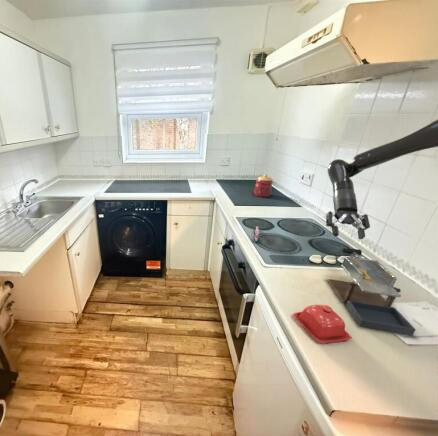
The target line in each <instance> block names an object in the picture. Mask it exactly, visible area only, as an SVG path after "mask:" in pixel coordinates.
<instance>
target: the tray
mask: <svg viewBox="0 0 438 436" xmlns="http://www.w3.org/2000/svg"><path fill="white" fill-rule="evenodd" d="M345 307H346V309H347V310H348V311H349V313H350V314H351V316H352V318H353V319H354V321H355V322H356V324H357V325H358V326H359V327H361V328H367V329H371V330H378V331H383V332H387V333H388V332H389V333H393V334H399V335H405V336H410V337H412V336H413V335H414V334H415V331H416V328H415V327H414V326H413V325H412V324H411V323H410V322H409V321H408V320H407V319H406V318H405V316H404V315H403V314H402V313H401V312H399V311H400V310H398V308H396V307H394V306H391V307H387V306H381V305H375V304H369V303H363V302H356V301H350V300H348V301H347V304H346V303H345Z"/></svg>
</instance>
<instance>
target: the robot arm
mask: <svg viewBox="0 0 438 436" xmlns="http://www.w3.org/2000/svg"><path fill="white" fill-rule="evenodd" d="M434 148H438V118H437V119H435V120H433V121H432V122H430V123H429V124H427V125H425V126H423V127H422V128H420V129H417V130H416V131H414V132H412V133H410V134H407V135H405V136H403V137H401V138H398V139H395V140H393V141H390V142H388V143H387V142H386V143H385V144H381V145H378V146H376V147H373V148H370V149H368V150H366V151H365V150H364V151H363V152H360V153H358V154H356V155H354V157H353V159H352V162H351V163H350V162H348V161H345V160H343V159H339V158H337V159H334V160H332V161H331V162H330V163H329V165H328V166H327V176H328V177H329V180H330V183H331V185H332V193H333V195H332V196H333V197H332V201H333V202H332V203H333V212H332V211H328V212H327V213H326V214H325V226H327V227H330V228H331V232H332V235H333V236H334V237H338V236H339V235H340V233H339V225H340V224H341V225H348V226H349V225H351V226H352V227H353V228H355V229H357V237H358V238H357V239H358V240H363V239H364V238H366V233H365V231H367V230H368V229H370V228H371V224H370V220H369V216H368V214H366V213H365V214H359V213H358V210H359V209H358V203H357V195H356V193H355V187H354V182H353V180H352V179H351V178H353V177H354V176H356V175H358V174H360V173H362V172H363V171H365V170H367V169H371V168H373V167H376V166H380V165H382V164H385V163H388V162H391V161H393V160H395V159H398V158H400V157H404V156H406V155H410V154H413V153H416V152H420V151H423V150H428V149H434ZM333 218H335V219H336V220H335V221H334V222H333Z"/></svg>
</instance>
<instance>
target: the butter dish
mask: <svg viewBox="0 0 438 436" xmlns="http://www.w3.org/2000/svg"><path fill="white" fill-rule="evenodd" d="M292 316H293V317H294V319H295V320H296V321H297V322H298V323H299V324H300V325H301V326H302V327H303V328H304V329H305V330H306V332H307V333H309V335H310V336H311V337H312V338H313V339H314V340H315V341H316V342H317V343H322V344H324V343H326V344H327V343H333V342H334V343H335V342H344V341H349V340H351V339H353V338H352V336H351V334H350V333H349V332H347V331H346V323H345V320H344V319H343V318H342V317H341V316H340V315H339V314H338V313H337V312H335V311H334V310H333V308H332V307H331V306H329V305H327V304H312V305H308V306H306V307H304V308H303V309H302V311H297V312H294V313H292Z"/></svg>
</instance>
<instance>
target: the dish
mask: <svg viewBox="0 0 438 436" xmlns="http://www.w3.org/2000/svg"><path fill="white" fill-rule="evenodd" d="M342 253H343V254H345V255H352V256H353V257H352V256H344V258H343V261H342V263H341V268H342V270H343V271H344V272H345V273H346V274H347V276H348V277H349V278H350V279H351V281H354V282H355V283H356V285H357V286H358V287H359V288H360V289H361V291H362V292H368V293H374V294H379V295H380V296H381V295H382V296H386V297H388V296H394V297H396V298H401V297H402V294H400V292H397V291H396V290H395V289H394V288H393V287H395V286H394V285H395V283H396V282H397V280H398V277H396V275H394V274H393V273H392V272H391V271H390V270H389V269H388V268H386V267H385V266H384V265H383V264H382V263H381V262H380V261H379V260H375V259H368V258H362V257H361V256H362V254H363V251H362V250H361V249H357V248H348V247H344V248H342ZM359 269H364V270H366V271H367V273H366V274H367V275H368V276H369V277H370V278H371V280H369V279H364V278H363V276H365V275H364V274H363V273H362V272H361V271H360V270H359Z"/></svg>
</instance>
